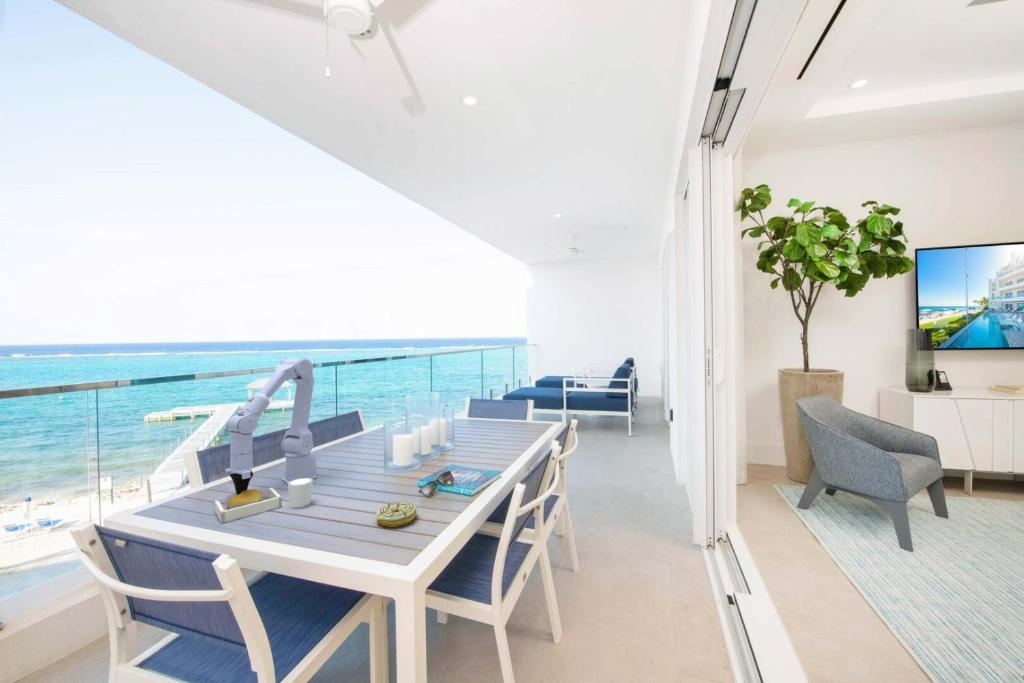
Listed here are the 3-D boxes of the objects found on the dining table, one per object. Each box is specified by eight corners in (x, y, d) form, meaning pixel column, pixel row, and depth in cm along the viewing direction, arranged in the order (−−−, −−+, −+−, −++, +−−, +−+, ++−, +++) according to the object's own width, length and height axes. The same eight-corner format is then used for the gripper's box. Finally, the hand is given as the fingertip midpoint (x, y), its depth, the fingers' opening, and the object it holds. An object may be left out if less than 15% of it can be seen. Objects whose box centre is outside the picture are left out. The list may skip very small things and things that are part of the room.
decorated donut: (384, 512, 111) (384, 499, 111) (420, 512, 111) (420, 499, 111) (370, 529, 101) (370, 515, 101) (410, 529, 101) (410, 515, 101)
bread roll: (220, 510, 112) (220, 497, 112) (246, 498, 121) (246, 485, 121) (244, 512, 111) (244, 498, 111) (269, 499, 120) (269, 487, 120)
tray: (271, 496, 122) (271, 487, 122) (281, 507, 114) (281, 497, 114) (214, 511, 111) (214, 501, 111) (221, 523, 104) (221, 512, 104)
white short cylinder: (317, 499, 120) (317, 477, 120) (303, 509, 113) (303, 485, 113) (297, 499, 120) (297, 477, 120) (282, 508, 113) (282, 485, 113)
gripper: (221, 450, 122) (221, 493, 122) (230, 460, 112) (230, 506, 112) (248, 446, 127) (247, 487, 127) (258, 455, 117) (258, 499, 117)
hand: (241, 495), depth 120 cm, fingers closed
